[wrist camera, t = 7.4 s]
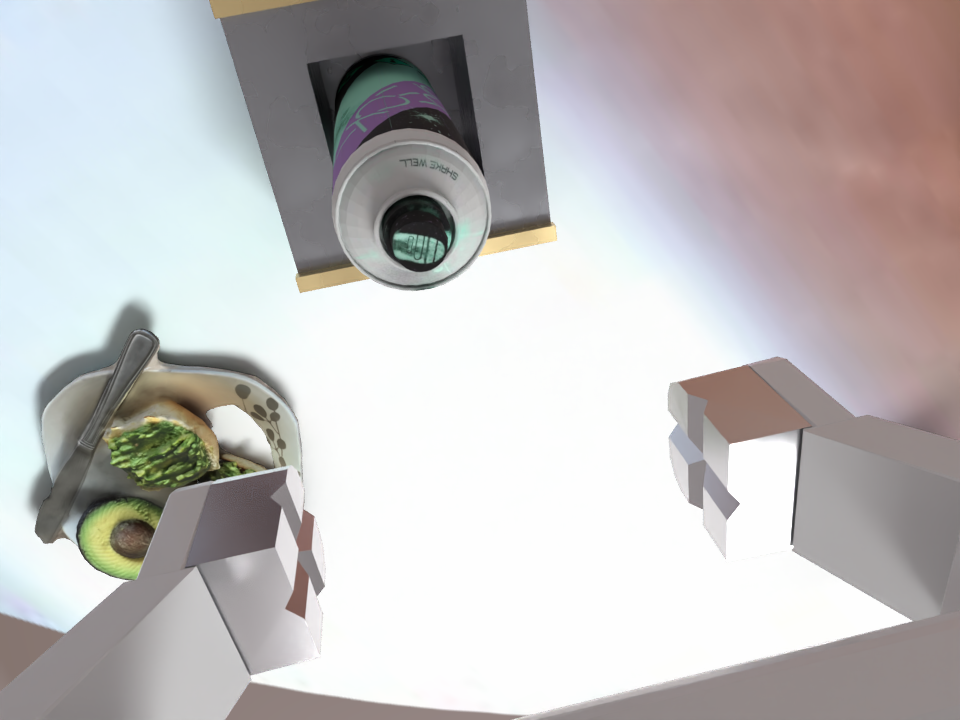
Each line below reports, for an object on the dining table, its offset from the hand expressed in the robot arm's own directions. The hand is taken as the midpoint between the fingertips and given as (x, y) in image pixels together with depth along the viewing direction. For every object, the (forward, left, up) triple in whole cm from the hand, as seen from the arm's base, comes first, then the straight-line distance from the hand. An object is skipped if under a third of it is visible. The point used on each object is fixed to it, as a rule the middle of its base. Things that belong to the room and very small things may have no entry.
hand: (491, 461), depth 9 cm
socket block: (0, 0, -35) cm, 35 cm away
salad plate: (+20, +21, -35) cm, 45 cm away
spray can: (0, 0, -33) cm, 33 cm away
